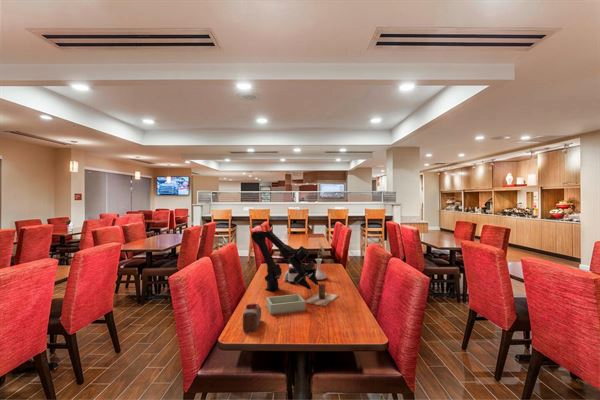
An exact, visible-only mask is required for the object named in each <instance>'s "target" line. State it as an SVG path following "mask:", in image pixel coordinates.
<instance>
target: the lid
mask: <svg viewBox="0 0 600 400" xmlns="http://www.w3.org/2000/svg"><path fill="white" fill-rule="evenodd" d="M318 284H319V283H318ZM338 298H339V295H338V294H334V293H329V292H328V293H327V292H326V284H325V283H320V284H319V285H318V292H317V293H316V294H314V295H312V296H311V297H309V298H307V299H304V300H305V304H312V305H314V306H315V305H316V306H321V307H326V306H327V305H329V304H331V302H333V301H335V300H336V299H338Z"/></svg>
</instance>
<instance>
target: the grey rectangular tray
mask: <svg viewBox="0 0 600 400" xmlns="http://www.w3.org/2000/svg"><path fill="white" fill-rule="evenodd" d="M265 299H266V301H265V303H266V304H265V307H266V309H267V311H268V312H269V315H270V316H274V315H275V316H276V315H281V314H282V315H283V314H292V313H299V312H306V303H305V300H306V299H304V298H303V297H302V296H301V295H300V293H297V294H296V293H295V294H287V295H285V294H284V295H275V296H268V297H267V296H266V297H265Z"/></svg>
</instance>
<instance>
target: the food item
mask: <svg viewBox="0 0 600 400" xmlns="http://www.w3.org/2000/svg"><path fill="white" fill-rule="evenodd" d="M261 318H262V307H261V306H260V305H259V304H258V303H253V302H252V303H247V304H246V306H245V308H244V310H243V314H242V318H241V319H242V330H243V332H246V333H247V332H248V333H249V332H257V331H258V327H259V326H260V321H261Z"/></svg>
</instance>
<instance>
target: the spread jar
mask: <svg viewBox="0 0 600 400" xmlns="http://www.w3.org/2000/svg"><path fill="white" fill-rule="evenodd" d="M288 267H289V268H288V270H286V271H285V273H284V275H283V281H285V282H286V281H288V283H289V284H295V282H294V278H295V277H296V276H297V275H298V273H297V271H296V272H295V271H294V270H295V269H294V267H293V266H292V265H291V263H290V264H288Z"/></svg>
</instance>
